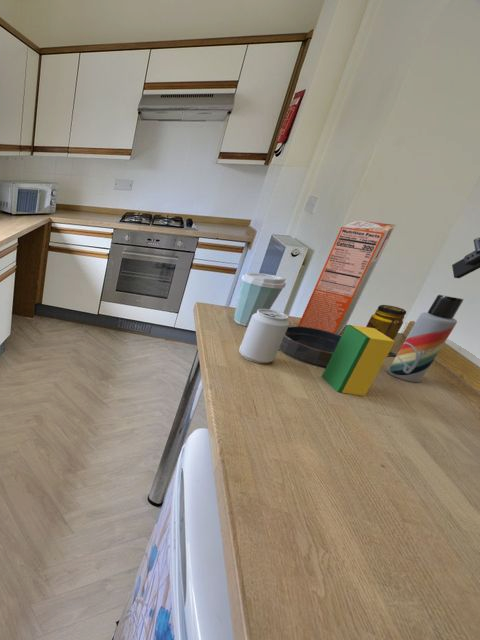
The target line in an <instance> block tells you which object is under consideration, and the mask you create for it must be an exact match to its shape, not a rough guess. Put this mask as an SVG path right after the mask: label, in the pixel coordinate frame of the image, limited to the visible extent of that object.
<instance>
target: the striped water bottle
mask: <svg viewBox="0 0 480 640" xmlns="http://www.w3.org/2000/svg"><path fill="white" fill-rule="evenodd" d="M463 301H464V298H459V297H453V296H447V295H443V294H438V295H437V296H436V297H435V299H434V301H433V302H432V304H431V305H430V308H429V309H428V311H427V312H425V311H424V312H421V313H420V314H419V316H418V317H417V318H416V321H415V322H414V324H413V326H412V327H411V328H410V331H409V332H408V335H407V336H406V338H405V340H404V342H403V343H402V345H401V347H400V348H399V350H398V352H397V353H398V354H397V355H395V357H394V359H393V361H392V363H391V364H390V366H389V368H388V371H387V372H388V374H390V375H391V376H393V377H394V378H397V379H399V380H403V381H406V382H412V383H419V382H421V381H422V380H423V378H424V376H425V375H426V373H427V372H428V370H429V369H430V367H431V366H432V364H433V362H434V360H435V359H436V357H437V355H438V354H439V353H440V351H441V350H442V348H443V346H444V344H445V343H446V341H447V340H448V338H449V336H450V335H451V334H452V331H453V330H454V329H455V326H456V325H457V323H458V321H457V319H455V318H454V317H455V316H456V314H457V312H458V310H459V309H460V307H461V306H462V304H463Z"/></svg>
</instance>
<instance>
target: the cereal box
mask: <svg viewBox="0 0 480 640" xmlns="http://www.w3.org/2000/svg"><path fill="white" fill-rule="evenodd" d="M396 226H397V225H396V224H391V223H383V222H374V221H368V220H358V219H357V220H355V221H352V222H350V223H348V224H345V225H343V226H341V227H340V230H339V231H338V234H337V236H336V239H335V241H334V243H333V245H332V248H331V250H330V252H329V255H328V256H327V259H326V261H325V264H324V267H323V268H322V270H321V273H320V275H319V277H318V279H317V281H316V284H315V285H314V288H313V291H312V293H311V296H310V297H309V300H308V302H307V305H306V307H305V309H304V310H303V314H302V316H301V318H300V320H299V322H298V325H297V326H302V327H310V328H315V329H320V330H324V331H328V332H331V333H335V334H338V335H340V334H341V333H342V332H343V331H344V330H345V328H346V326H347V325H348V323H349V321H350V318H351V316H352V314H353V312H354V310H355V309H356V307H357V304H358V303H359V301H360V298H361V296H362V295H363V292H364V290H365V289H366V286H367V284H368V282H369V281H370V278H371V276H372V274H373V272H374V270H375V268H376V266H377V264H378V262H379V260H380V258H381V256H382V254H383V252H384V251H385V248H386V246H387V244H388V242H389V240H390V237H391V235H393V232H394V229H395V228H396ZM344 327H345V328H344ZM339 333H340V334H339Z"/></svg>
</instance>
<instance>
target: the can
mask: <svg viewBox="0 0 480 640" xmlns="http://www.w3.org/2000/svg"><path fill="white" fill-rule="evenodd" d="M289 317H290V316H289V315H288V314H286V313H284V312H282V311H278V310H274V309H271V308H270V309H259V310H257V313H255V314H253V315H252V317H251V320H250V322H249V325H248V327H247V328H246V330H245V333H244V335H243V338H242V340H241V344H240V346H239V350H238V352H239V354H240V355H241V357H242V358H243V359H245V360H248V361H250V362H253V363H257V364H269V363H272V362H274V361H275V359H276V356H277V354H278V351H279V350H280V348H279V347H280V345H281V343H282V340H283V338H284V336H285V333H286V331H287V329H288V326H290V322H289V320H288V319H289Z"/></svg>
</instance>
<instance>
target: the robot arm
mask: <svg viewBox="0 0 480 640" xmlns="http://www.w3.org/2000/svg"><path fill="white" fill-rule="evenodd" d="M473 244H474V245H473V246H474V249H475V250H473V251H471V252H470V253H468V254H466V255H465V256H464V257H463V258H462V259H460V260H458V261H456V262H455V263H453V264H451V266H452V273H453V274H452V275H453V278H454V279H462V278H463V277H465V276H467V275H469V274H471V273H473V272H475V271H477V270H479V269H480V237H476V238H475V239H473Z"/></svg>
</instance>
